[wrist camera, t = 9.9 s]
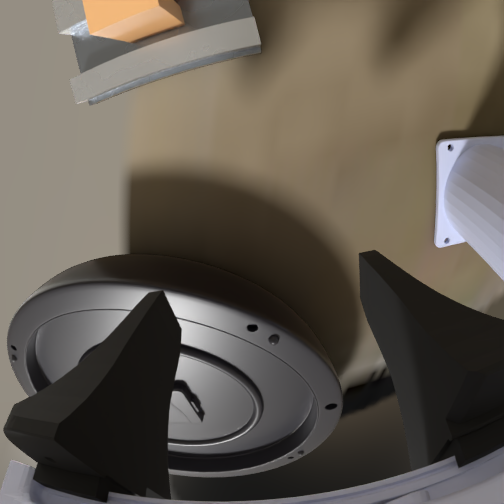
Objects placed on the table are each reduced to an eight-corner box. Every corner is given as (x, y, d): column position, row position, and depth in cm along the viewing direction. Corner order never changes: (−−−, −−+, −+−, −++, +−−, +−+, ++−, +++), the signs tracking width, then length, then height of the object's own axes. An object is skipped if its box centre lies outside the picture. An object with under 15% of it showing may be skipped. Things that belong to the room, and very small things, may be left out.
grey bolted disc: (122, 440, 38) (337, 423, 35) (114, 474, 33) (345, 465, 29) (-14, 274, 23) (308, 188, 20) (-47, 312, 18) (329, 232, 14)
